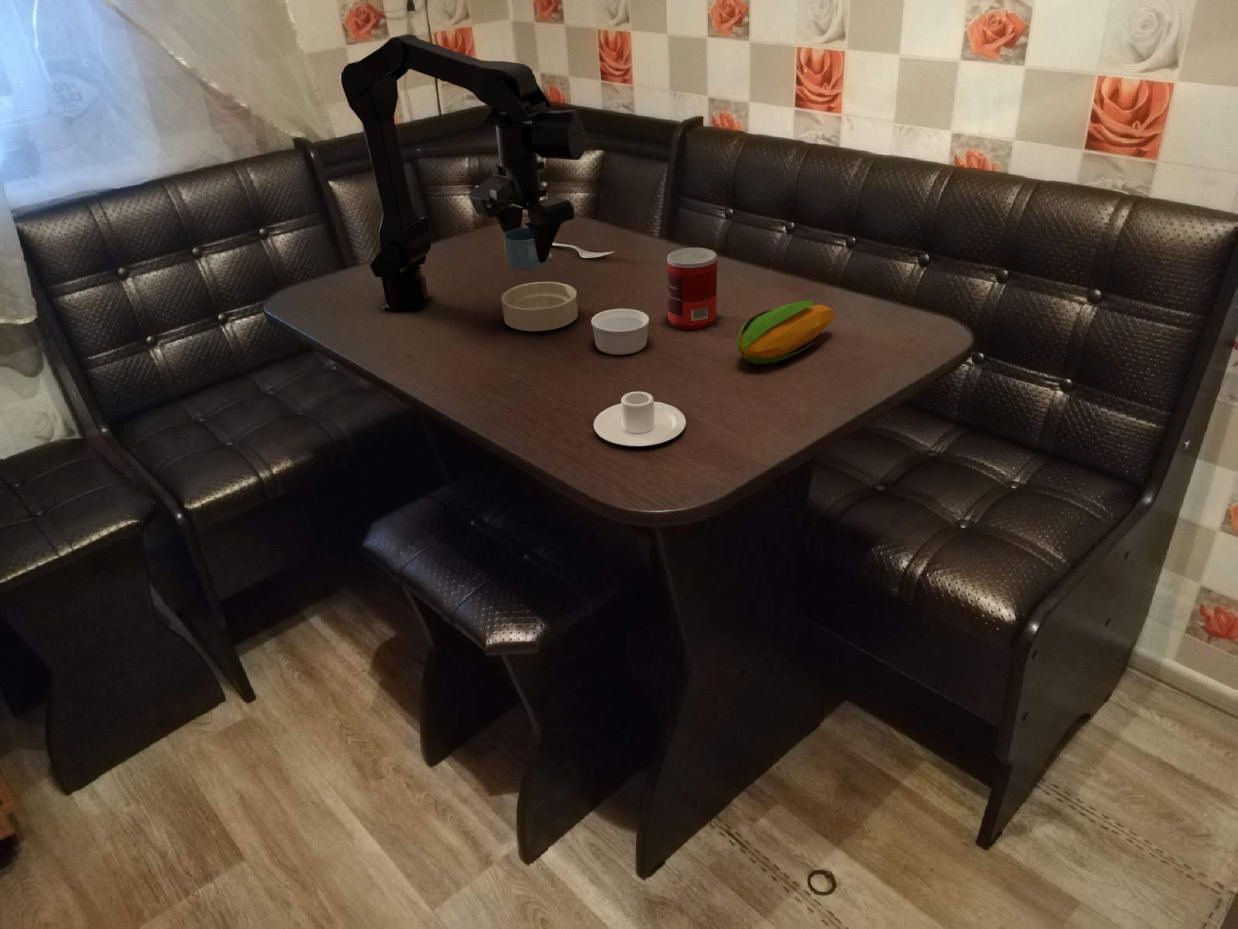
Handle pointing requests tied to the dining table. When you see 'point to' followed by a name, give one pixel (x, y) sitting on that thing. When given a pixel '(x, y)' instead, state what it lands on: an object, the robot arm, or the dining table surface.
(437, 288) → the dining table surface
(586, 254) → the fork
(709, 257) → the canned food
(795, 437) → the dining table surface
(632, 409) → the candle holder
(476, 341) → the dining table surface
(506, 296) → the cream bowl
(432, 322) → the dining table surface
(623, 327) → the ramekin
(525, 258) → the slate bowl
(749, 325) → the corn
